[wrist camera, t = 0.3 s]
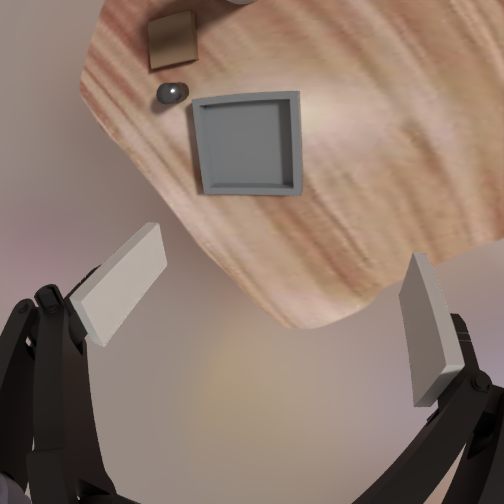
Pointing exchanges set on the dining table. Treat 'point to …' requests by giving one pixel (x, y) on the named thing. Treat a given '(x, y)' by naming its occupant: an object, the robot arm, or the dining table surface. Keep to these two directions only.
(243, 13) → the dining table surface
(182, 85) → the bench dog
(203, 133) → the tray
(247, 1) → the coffee cup
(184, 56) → the board
